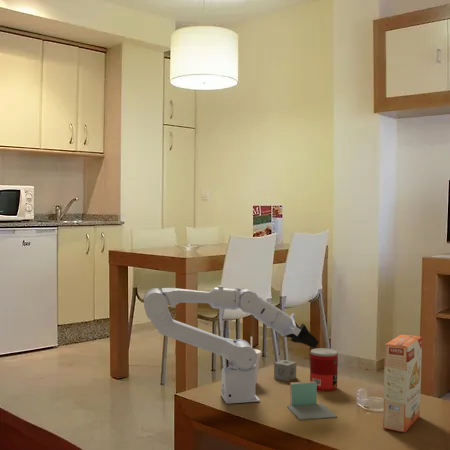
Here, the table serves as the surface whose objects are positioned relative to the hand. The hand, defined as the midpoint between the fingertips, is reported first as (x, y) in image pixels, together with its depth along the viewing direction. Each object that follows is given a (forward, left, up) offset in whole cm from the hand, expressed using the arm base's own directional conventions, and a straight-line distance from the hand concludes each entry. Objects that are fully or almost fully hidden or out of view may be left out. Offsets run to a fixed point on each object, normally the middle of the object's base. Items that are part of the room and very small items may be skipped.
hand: (312, 342), depth 170 cm
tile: (-5, -7, -12) cm, 15 cm away
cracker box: (+15, -25, -15) cm, 33 cm away
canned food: (+6, +6, -15) cm, 18 cm away
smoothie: (-14, +15, -15) cm, 26 cm away
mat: (-5, -13, -15) cm, 21 cm away
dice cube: (-2, +18, -16) cm, 24 cm away
